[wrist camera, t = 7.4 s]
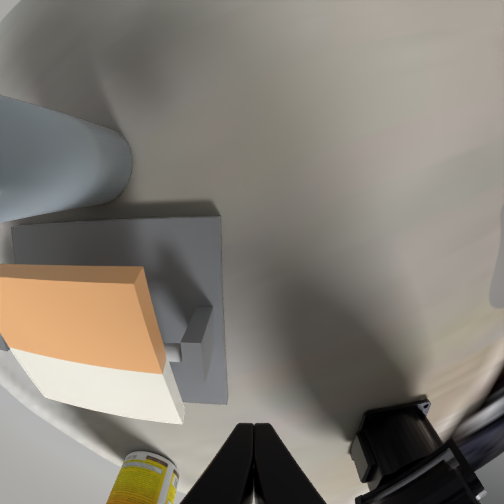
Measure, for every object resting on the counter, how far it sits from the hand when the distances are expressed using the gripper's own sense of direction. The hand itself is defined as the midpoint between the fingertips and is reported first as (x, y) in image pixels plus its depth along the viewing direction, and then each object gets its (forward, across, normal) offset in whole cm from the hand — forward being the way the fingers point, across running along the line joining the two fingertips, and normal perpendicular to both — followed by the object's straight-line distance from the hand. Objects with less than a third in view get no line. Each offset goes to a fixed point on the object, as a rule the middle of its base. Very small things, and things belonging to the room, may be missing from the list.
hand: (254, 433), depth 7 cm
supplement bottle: (+12, +10, +19) cm, 25 cm away
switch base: (+12, +10, +2) cm, 16 cm away
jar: (+12, +10, -8) cm, 18 cm away
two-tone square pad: (+8, +10, +2) cm, 13 cm away
